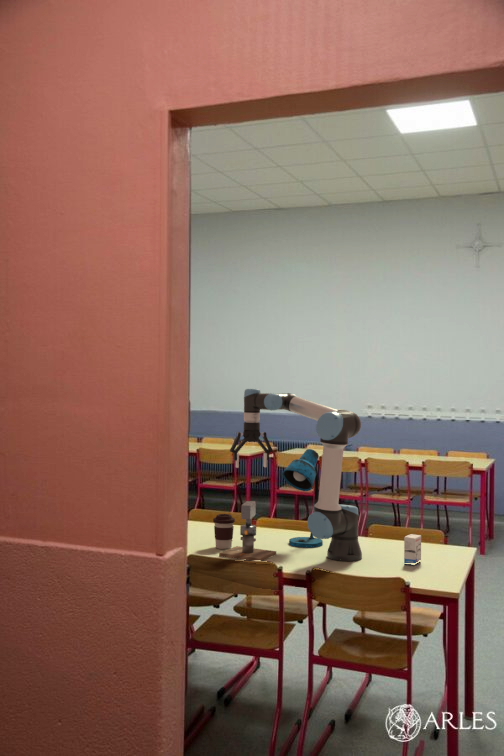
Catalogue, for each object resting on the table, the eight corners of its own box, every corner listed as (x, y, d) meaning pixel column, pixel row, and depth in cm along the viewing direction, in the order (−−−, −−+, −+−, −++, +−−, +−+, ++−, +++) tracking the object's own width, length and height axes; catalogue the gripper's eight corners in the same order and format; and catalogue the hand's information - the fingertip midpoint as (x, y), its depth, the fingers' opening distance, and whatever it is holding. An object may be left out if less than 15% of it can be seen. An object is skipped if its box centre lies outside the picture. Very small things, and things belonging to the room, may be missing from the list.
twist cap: (243, 531, 335) (243, 500, 335) (258, 532, 333) (258, 501, 333) (237, 536, 323) (238, 505, 323) (253, 537, 321) (253, 505, 321)
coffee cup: (231, 550, 337) (232, 517, 337) (210, 549, 339) (210, 516, 339) (236, 545, 347) (236, 513, 347) (215, 544, 349) (216, 512, 349)
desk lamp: (275, 545, 348) (276, 449, 349) (303, 538, 365) (304, 447, 365) (302, 551, 338) (304, 452, 338) (330, 543, 355) (331, 449, 355)
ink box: (414, 566, 313) (415, 538, 313) (403, 564, 315) (403, 536, 316) (421, 562, 320) (421, 534, 320) (410, 560, 323) (410, 533, 323)
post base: (276, 554, 330) (276, 534, 330) (259, 562, 316) (260, 541, 316) (236, 549, 340) (237, 529, 340) (219, 556, 325) (219, 536, 326)
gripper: (228, 422, 340) (227, 468, 340) (279, 422, 347) (279, 467, 347) (223, 421, 347) (223, 466, 347) (274, 421, 354) (273, 465, 354)
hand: (251, 467), depth 347 cm, fingers open, 13 cm apart
